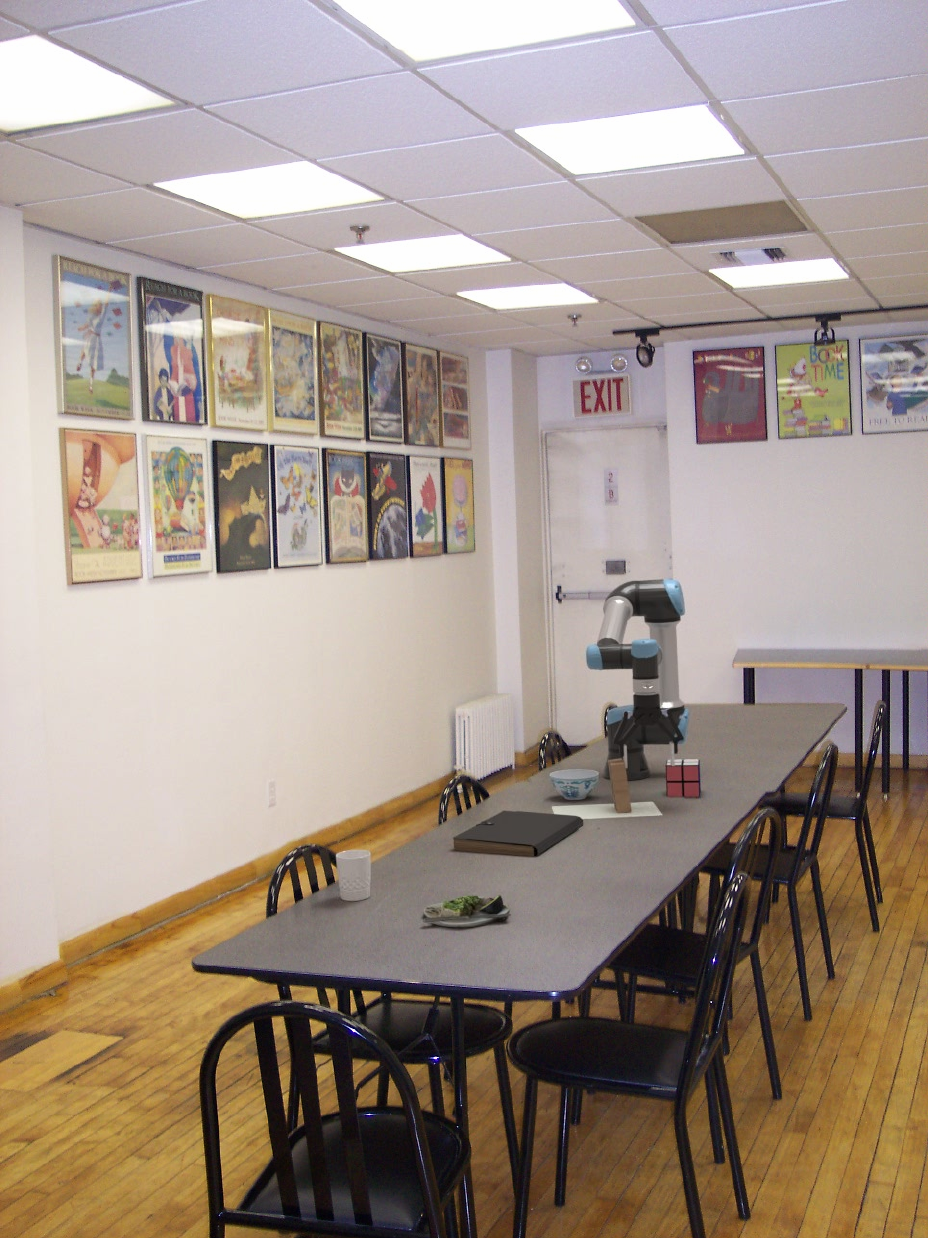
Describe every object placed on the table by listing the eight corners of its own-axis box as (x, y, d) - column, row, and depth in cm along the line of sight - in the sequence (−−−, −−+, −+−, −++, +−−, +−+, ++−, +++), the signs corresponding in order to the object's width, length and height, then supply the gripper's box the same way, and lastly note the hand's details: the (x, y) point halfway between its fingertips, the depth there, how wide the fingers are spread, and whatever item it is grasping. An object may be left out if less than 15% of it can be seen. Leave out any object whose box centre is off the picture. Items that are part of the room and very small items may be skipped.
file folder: (503, 809, 348) (583, 815, 337) (503, 823, 348) (583, 830, 338) (451, 836, 318) (537, 844, 308) (452, 852, 319) (538, 860, 308)
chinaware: (609, 797, 374) (608, 772, 374) (579, 806, 363) (578, 780, 363) (571, 791, 385) (570, 767, 384) (540, 800, 374) (539, 775, 373)
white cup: (338, 893, 284) (336, 851, 283) (372, 891, 285) (370, 848, 284) (337, 903, 276) (335, 859, 275) (372, 901, 277) (370, 857, 276)
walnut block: (614, 807, 358) (607, 760, 357) (628, 805, 358) (621, 758, 357) (617, 813, 350) (611, 765, 349) (631, 811, 350) (624, 763, 349)
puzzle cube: (700, 798, 367) (699, 765, 366) (666, 798, 369) (665, 765, 368) (700, 791, 377) (699, 759, 376) (667, 791, 379) (666, 759, 378)
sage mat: (551, 807, 363) (551, 806, 363) (652, 803, 363) (652, 801, 363) (556, 821, 345) (556, 820, 345) (662, 816, 345) (662, 815, 345)
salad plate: (440, 939, 249) (439, 917, 248) (403, 917, 265) (402, 896, 264) (522, 921, 258) (521, 899, 258) (481, 901, 274) (480, 880, 273)
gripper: (604, 696, 348) (607, 770, 349) (692, 692, 348) (694, 766, 350) (601, 693, 356) (604, 766, 357) (687, 689, 356) (689, 761, 357)
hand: (649, 766), depth 353 cm, fingers open, 13 cm apart
